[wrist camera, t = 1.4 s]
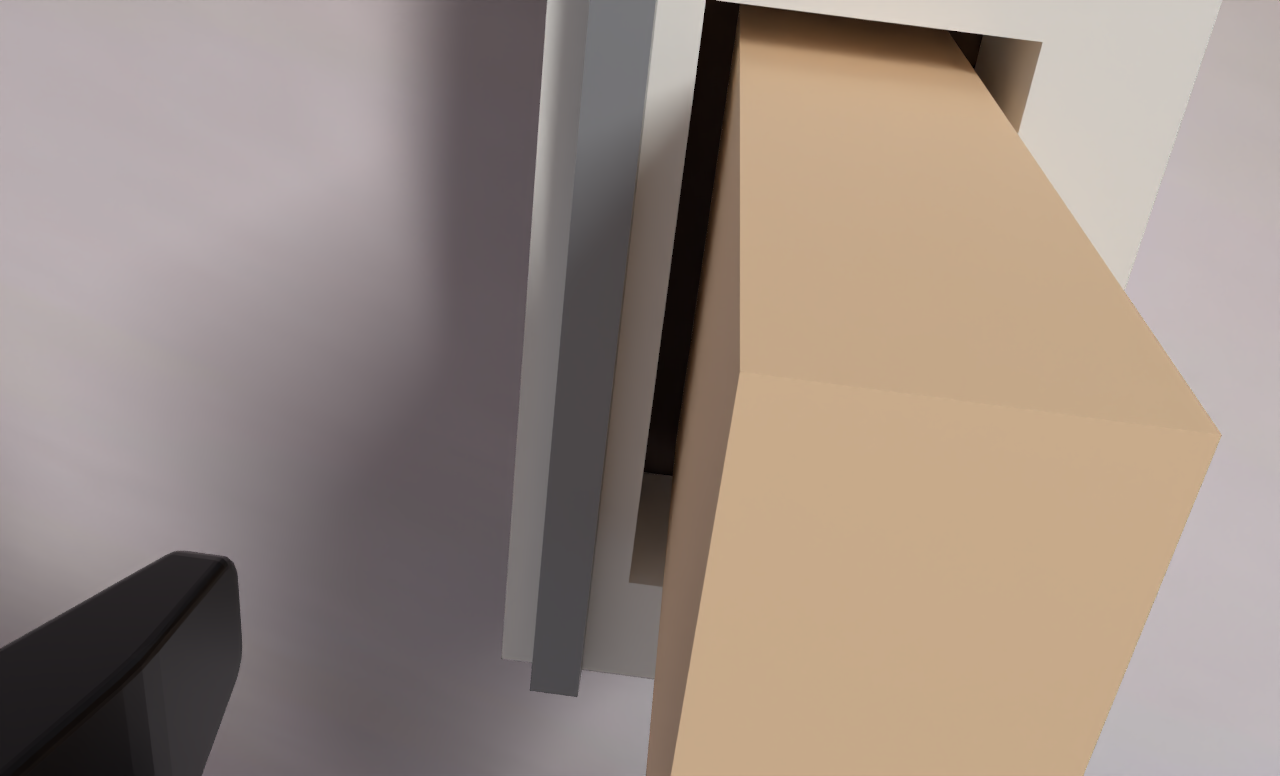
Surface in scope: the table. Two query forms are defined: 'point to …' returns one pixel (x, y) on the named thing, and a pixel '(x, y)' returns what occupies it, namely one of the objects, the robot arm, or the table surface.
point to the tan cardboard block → (905, 434)
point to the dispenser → (643, 244)
